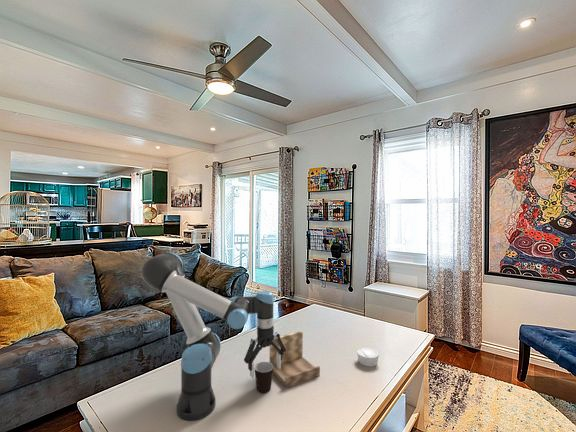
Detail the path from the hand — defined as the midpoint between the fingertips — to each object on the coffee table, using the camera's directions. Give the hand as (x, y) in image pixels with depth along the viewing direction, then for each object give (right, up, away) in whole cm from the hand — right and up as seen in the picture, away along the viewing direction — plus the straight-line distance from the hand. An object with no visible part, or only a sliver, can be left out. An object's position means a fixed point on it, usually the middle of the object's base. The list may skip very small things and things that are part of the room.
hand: (265, 372), depth 130 cm
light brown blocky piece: (+13, -7, +11) cm, 19 cm away
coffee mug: (-1, -7, 0) cm, 7 cm away
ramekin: (+53, -7, +22) cm, 58 cm away
